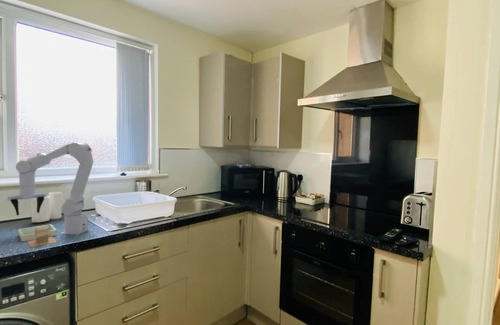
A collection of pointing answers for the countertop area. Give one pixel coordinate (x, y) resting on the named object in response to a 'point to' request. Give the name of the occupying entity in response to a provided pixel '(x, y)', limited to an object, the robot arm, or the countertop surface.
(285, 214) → the countertop surface
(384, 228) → the countertop surface
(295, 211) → the countertop surface
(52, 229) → the pale green bin
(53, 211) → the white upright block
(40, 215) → the cup
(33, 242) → the terracotta tile
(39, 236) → the birch block
